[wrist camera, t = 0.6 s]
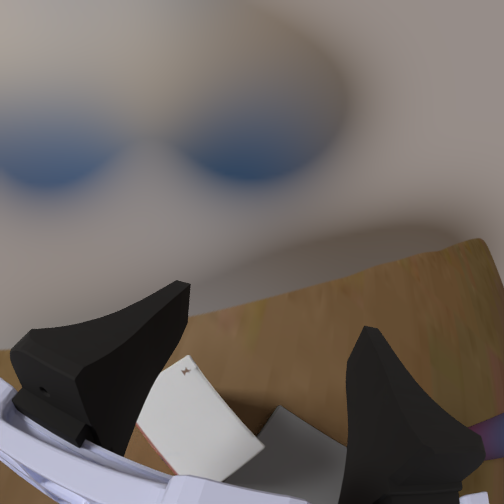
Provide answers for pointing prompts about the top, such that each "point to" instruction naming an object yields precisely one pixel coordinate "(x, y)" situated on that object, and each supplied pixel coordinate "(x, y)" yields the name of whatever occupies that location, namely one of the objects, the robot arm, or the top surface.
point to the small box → (195, 425)
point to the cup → (492, 436)
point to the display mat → (294, 461)
